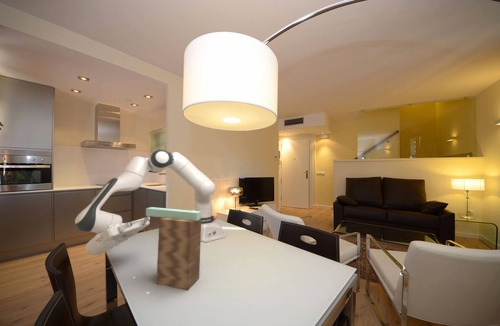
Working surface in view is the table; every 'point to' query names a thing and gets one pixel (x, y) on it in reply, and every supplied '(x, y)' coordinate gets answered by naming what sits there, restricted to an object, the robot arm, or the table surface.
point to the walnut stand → (178, 252)
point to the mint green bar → (173, 213)
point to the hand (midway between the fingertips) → (140, 220)
